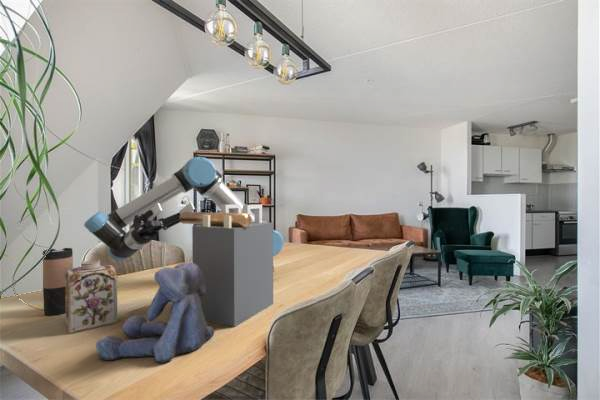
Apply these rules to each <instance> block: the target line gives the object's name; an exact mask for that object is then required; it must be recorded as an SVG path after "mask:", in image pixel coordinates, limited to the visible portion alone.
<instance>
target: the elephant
mask: <svg viewBox="0 0 600 400" xmlns="http://www.w3.org/2000/svg"><path fill="white" fill-rule="evenodd" d="M154 280H155V282H156V284H157V285H158V290H157V291H156V293H155V295H154V297H153V299H152V300H151V303H150V305H149V307H148V308H147V309H148V310H147V313H146V317H145V316H143V315H131V316H130V317H128V318H127V319H126V321H125V322H124V323H123V324H122V327H121V328H122V331H123V333H124V335H125V336H126V338H128V339H130V340H127V341H124V340H123V339H122V338H121V337H119V336H116V335H113V334H112V335H107V336H105V337H103V338H101V339H98V340H97V342H96V343H95V345H96V351H97V355H98V357H99V358H100V359H101V360H103V361H104V360H105V361H114V360H118V359H124V358H141V357H142V358H143V357H154V361H155V362H156V363H161V364H163V363H167V362H169V361H171V360H172V359H174V357H175V356H178V355H182V354H188V353H191V352H194V351H196V350H198V349H200V348H201V347H202V346H203V345H204V344H205V343H206V342H207V341H208V340H210V339H211V338H212V337H213V336H214V335H215V329H214V326H209V325H208V324H207V321H206V320H205V316H204V313H203V311H202V308H201V300H200V296H203V295H204V294H205V293H206V285H205V279H204V276H203V273H202V272H201V270H200V268H199V267H198V266H197V265H196V264H194V263H193V261H183V262H181V263H178V264H177V265H176V266H174V267H162V268H160V269H158V270H157V271H156V272H155V273H154ZM168 303H172V304H171V308H170V310H169V315H168V321H167V322H166V321H161V320H160V321H158V320H156V319H157V318H158V317H159V316H160V315H161V314H162V312H163V311H164V309H165V308H166V306H167V305H168ZM144 337H146V338H144Z"/></svg>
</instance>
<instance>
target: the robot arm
mask: <svg viewBox="0 0 600 400" xmlns="http://www.w3.org/2000/svg"><path fill="white" fill-rule="evenodd" d="M223 178H224V176H223V175H222V174H221V173H220V172H219V171H218V170H217V168H216V166H215V165H214V163H213V161H211V160H210V159H209V158H206V157H203V156H196V157H191V158H190V159H189V160H187V161H186V163H185V164H183V166H182V167H181V168H180V169H179V170H177V171H175V172H174V173H173V174H172V175H171V177H170V178H169V179H167V180H165V181H163V182H161V183H160V184H158V185H156V186H155V187H153V188H151V189H149V190H148V191H146V192H144V193H142V194H141V195H139V196H138V197H136V198H134V199H132V200H130V201H129V202H127V203H126V204H123V206H121V207H118V208H117V209H115V210H113V211H112V212H110V213H108V214H106V213H104V211H98V212H96V213H94V214H93V215H92V216H91V217H89V219H87V220H86V221H85V222H84V224H83V227H84V228H85V229H87V230H88V232H89V233H90V234H92V235H93V236H95V237H96V238H97V239H99V240H100V241H101V242H103V244H105V245H106V246H107V248H108V256H109V257H110V258H111V259H112V260H114V261H116V262H124V261H126V260H127V259H129V258H131V257H132V256H133V255H135V254H136V253H137V252H139V250H142V248H143V247H144V246H146V245H148V243H151V242H152V241H153V240H154V239H155V238H156V236H157V233H158V232H159V231H161V230H163V231H167V230H168V229H170V228H171V227H173V226H176V225H178V224H181V222H180V220H179V216H180V214H181V213H182V212H194V210H196V208H195V206H194V204H193V202H191V201H190V202H189V203H188V204H186V205H185V206H184V207H183V208H182V209H179V211H178V212H177V213H175V214H172V215H169V216H166V217H165V218H163V217H161V218H159V219H156V220H155V219H154V218H156V217H157V216H158V215H160V213H162V212H163V208H162V206H161V205H163V204H164V203H165V204H166V202H168V201H169V200H171V199H173V198H174V197H176V196H178V195H180V194H181V193H184V194H186V193H188V192H190V191H191V190H195V191H197V192H198V194H200V196H203V197H204V196H205V197H208V198H209V200H211V202H213V203H214V204H215V205H216V206H217V207H218V208H219V209H220V210H221V205H233V204H241V213H243V205H246V204H245V203H244V202H243V201H242V200H241V199H240V198H239V197H238V196H237V195H236V194H235V193H234V191H232V190H231V188H230V187H228V186H227V185H226V183H225V182H224V180H223ZM229 213H234V208H229ZM250 214H251V222H255V213H254V212H252V210H250ZM153 219H154V220H153ZM262 222H266V223H268V222H267V221H266V220H262ZM131 223H132V224H131ZM130 224H131V226H130V229H129V230H128V231H127V232H126V231H125V230H124V228H126V227H127V226H129V225H130ZM283 237H284V236H282V234H281V233H280V232H279V231H277V230H275V229H274V228H273V257H276V256H277V255H278V254H280V252H281V251H282V250H283V247H284V238H283ZM274 272H275V267H274V265H273V273H274Z"/></svg>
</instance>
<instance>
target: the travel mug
mask: <svg viewBox="0 0 600 400" xmlns="http://www.w3.org/2000/svg"><path fill="white" fill-rule="evenodd" d="M50 249H51V250H50V252H49V253H48V254H47V255H46V257H45V258H44V259H43V258H42V295H43V297H42V299H43V315H44V316H46V317H54V316H55V317H56V316H61V315H66V308H65V288H66V287H65V282H66V278H65V275H66V272H67V271H68V270H70V269H73V268H74V266H73V265H74V264H73V262H74V261H73V260H74V258H73V257H74V256H73V248H72V247H64V248H62V249H55V248H50ZM47 250H48V249H46V250H45V249H44V250H43V251H42V256H43V255H44V254H45V252H46V251H47Z"/></svg>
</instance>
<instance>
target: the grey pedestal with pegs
mask: <svg viewBox="0 0 600 400" xmlns="http://www.w3.org/2000/svg"><path fill="white" fill-rule="evenodd" d="M229 208H234V213H241V204H233V205H221V209H220V213H229ZM253 209H254V215H255V222H251V224H250V226H249V227H236V226H231V216H224V226H218V225H210V215H203V225H200V224H197V225H193V226H192V227H191V228H192V233H191V234H192V236H191V237H192V244H191V245H192V251H191V252H192V263H194V264H196V265H197V266H198V267H199V268H200V270H201V272H202V273H203V276H204V279H205V285H206V293H205V294H204V295H203V296H200V300H201V308H202V311H203V313H204V316H205V320H206V322H207V321H208V322H211V323H216V324H220V325H224V326H228V327H231V328H236V327H237V326H238V325H240V324H242V323H244V322H246V321H247V320H250V319H251V318H252V317H254V316H256V315H257V314H259V313H261V312H262V311H264V310H265V309H266V310H267V308H269V307H271V306H272V305H274V272H273V266H274V256H273V229H274V222H267V221H266V222H267V223H266V222H262V221H263V204H245V205H243V213H244V214H249V215H250V216H251V214H250V211H251V210H253Z"/></svg>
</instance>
